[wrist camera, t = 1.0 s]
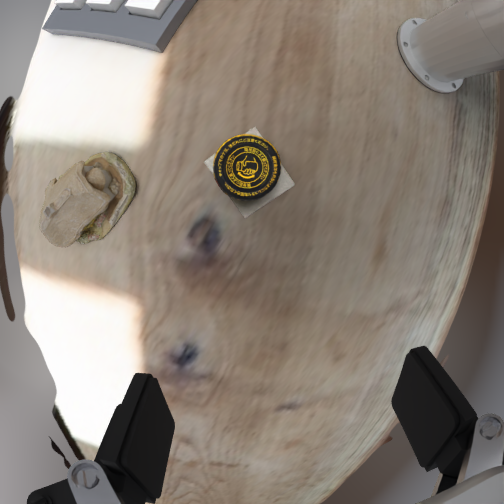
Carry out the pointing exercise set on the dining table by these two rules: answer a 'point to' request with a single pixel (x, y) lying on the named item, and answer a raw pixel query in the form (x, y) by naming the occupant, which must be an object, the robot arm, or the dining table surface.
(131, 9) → the key
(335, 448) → the dining table surface
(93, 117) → the dining table surface
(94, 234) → the ceramic model
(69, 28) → the keypad
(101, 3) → the key
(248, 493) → the dining table surface
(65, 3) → the key
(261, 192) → the condiment
